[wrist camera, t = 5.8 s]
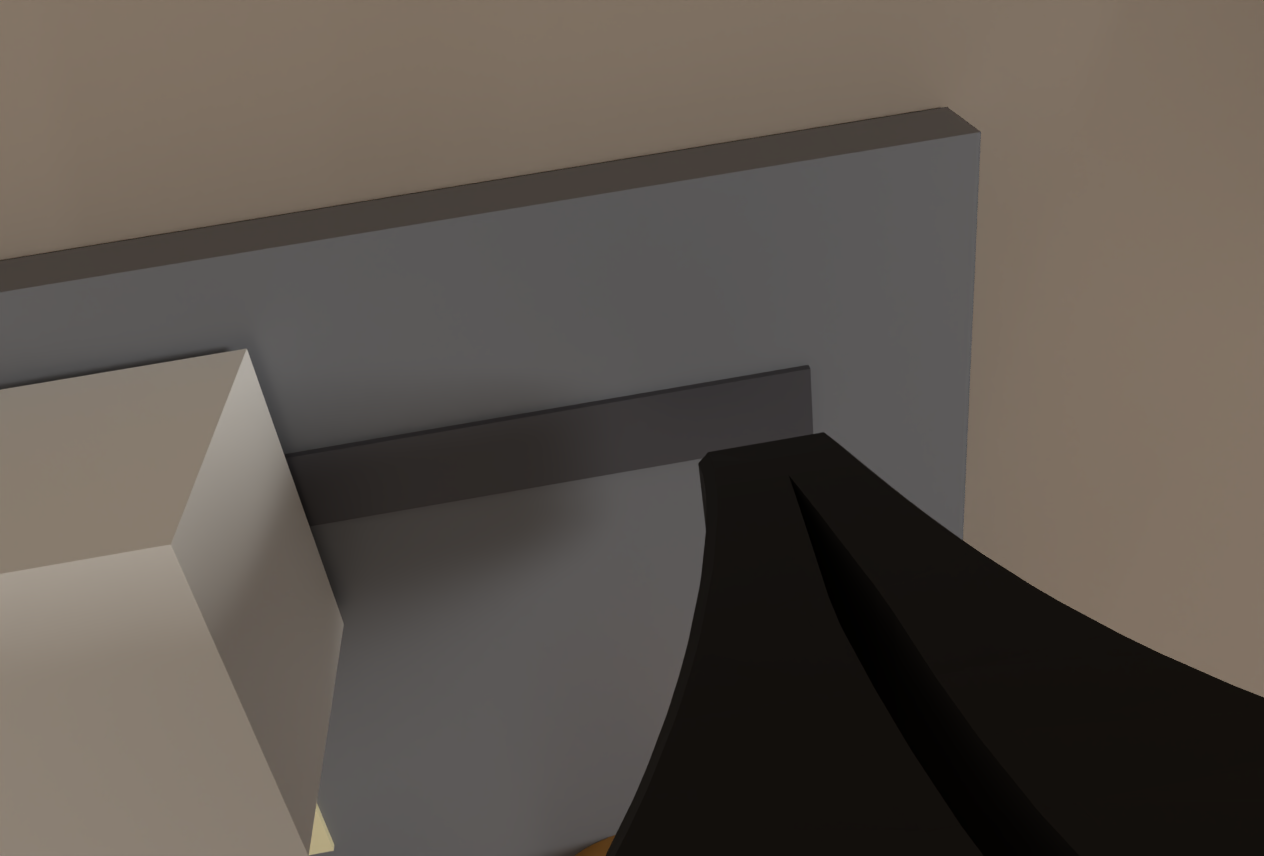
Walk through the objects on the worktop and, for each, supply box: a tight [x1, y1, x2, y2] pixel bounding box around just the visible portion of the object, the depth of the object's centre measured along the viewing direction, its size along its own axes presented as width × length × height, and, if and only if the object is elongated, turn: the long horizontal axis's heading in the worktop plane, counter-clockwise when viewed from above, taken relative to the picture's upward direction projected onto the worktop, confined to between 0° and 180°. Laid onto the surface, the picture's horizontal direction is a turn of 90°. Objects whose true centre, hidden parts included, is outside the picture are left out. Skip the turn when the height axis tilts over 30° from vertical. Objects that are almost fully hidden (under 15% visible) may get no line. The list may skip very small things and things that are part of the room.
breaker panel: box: [0, 107, 981, 856], centre depth 17 cm, size 16×18×2 cm
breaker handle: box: [0, 349, 344, 856], centre depth 11 cm, size 3×4×4 cm
